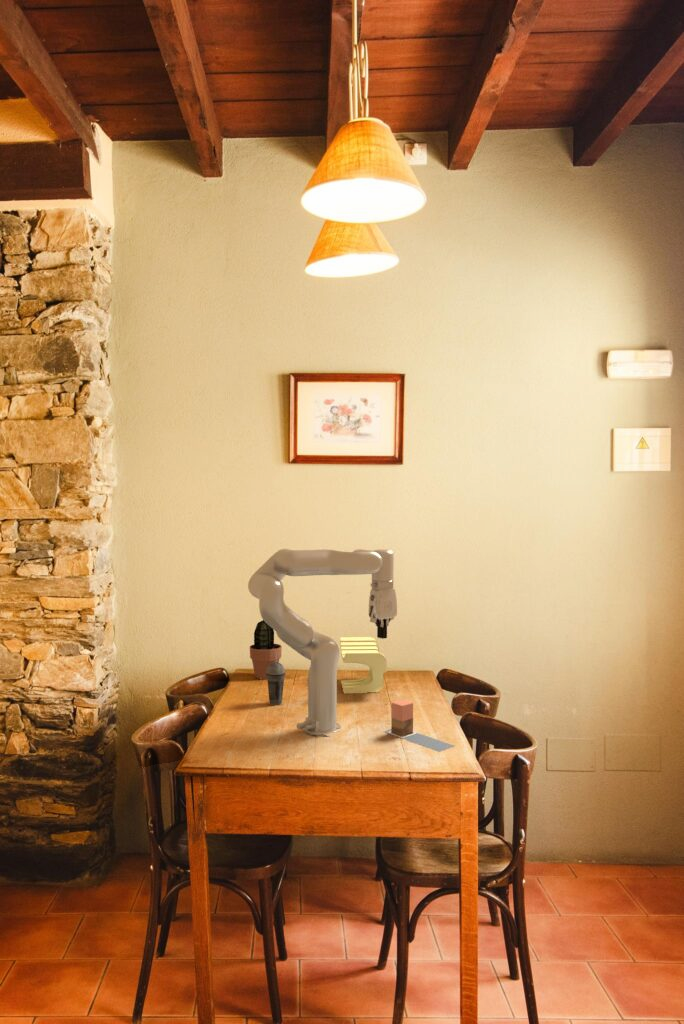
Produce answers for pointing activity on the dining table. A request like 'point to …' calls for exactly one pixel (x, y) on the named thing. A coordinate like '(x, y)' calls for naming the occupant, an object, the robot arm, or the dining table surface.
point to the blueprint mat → (424, 741)
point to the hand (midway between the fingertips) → (382, 637)
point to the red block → (402, 710)
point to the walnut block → (401, 727)
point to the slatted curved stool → (367, 654)
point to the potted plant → (264, 649)
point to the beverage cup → (275, 682)
